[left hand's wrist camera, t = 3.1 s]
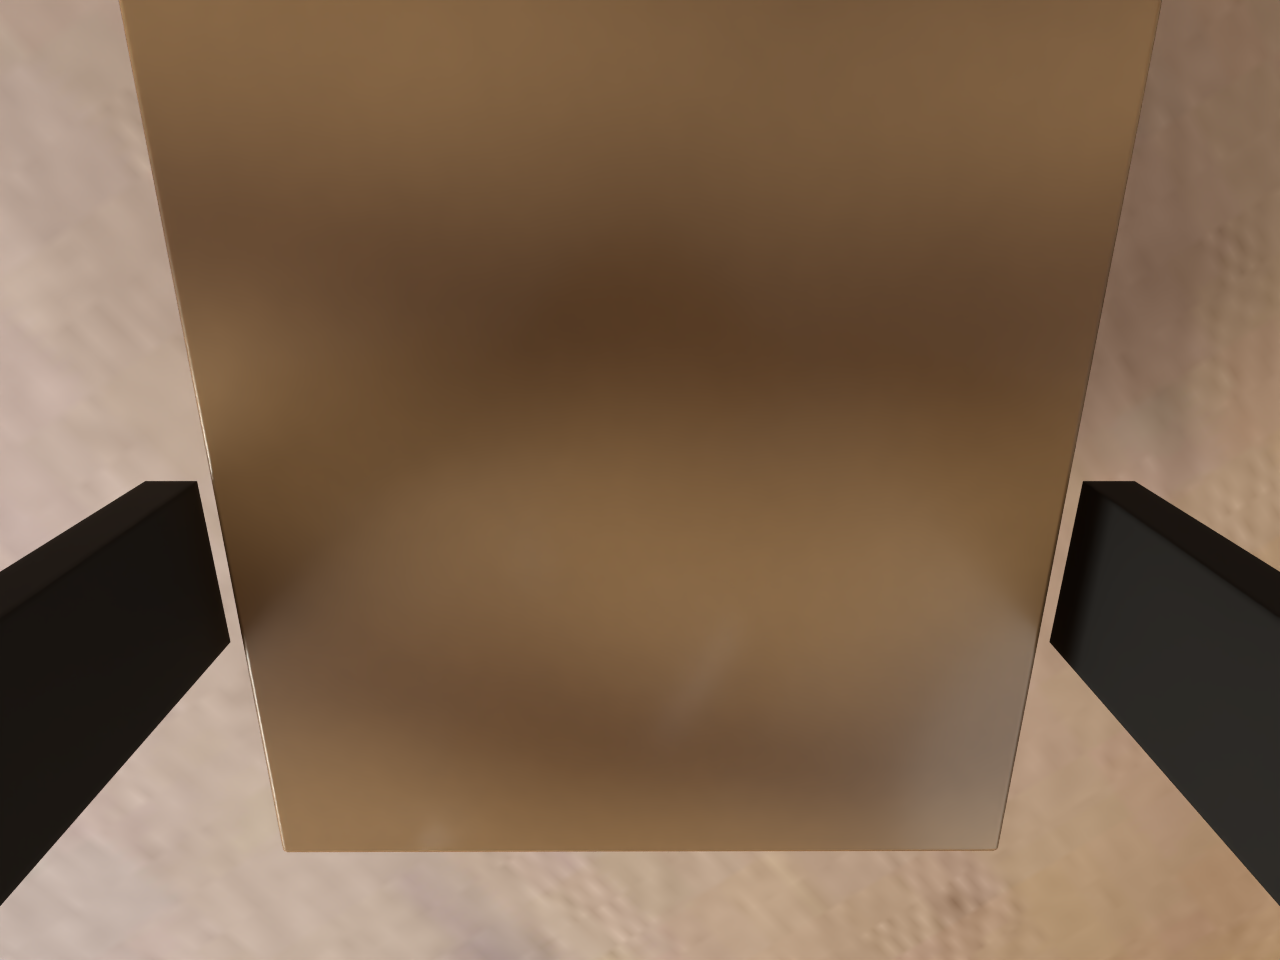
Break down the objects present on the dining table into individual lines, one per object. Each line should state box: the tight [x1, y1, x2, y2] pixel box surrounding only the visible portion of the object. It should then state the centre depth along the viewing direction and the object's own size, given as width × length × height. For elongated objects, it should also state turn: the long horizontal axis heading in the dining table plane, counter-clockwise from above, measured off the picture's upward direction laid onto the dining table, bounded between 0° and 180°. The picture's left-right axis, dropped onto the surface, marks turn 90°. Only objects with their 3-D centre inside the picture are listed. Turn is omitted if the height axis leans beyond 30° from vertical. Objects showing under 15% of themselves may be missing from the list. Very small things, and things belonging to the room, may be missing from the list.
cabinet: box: [119, 0, 1162, 852], centre depth 15 cm, size 18×11×11 cm, turn 0°
